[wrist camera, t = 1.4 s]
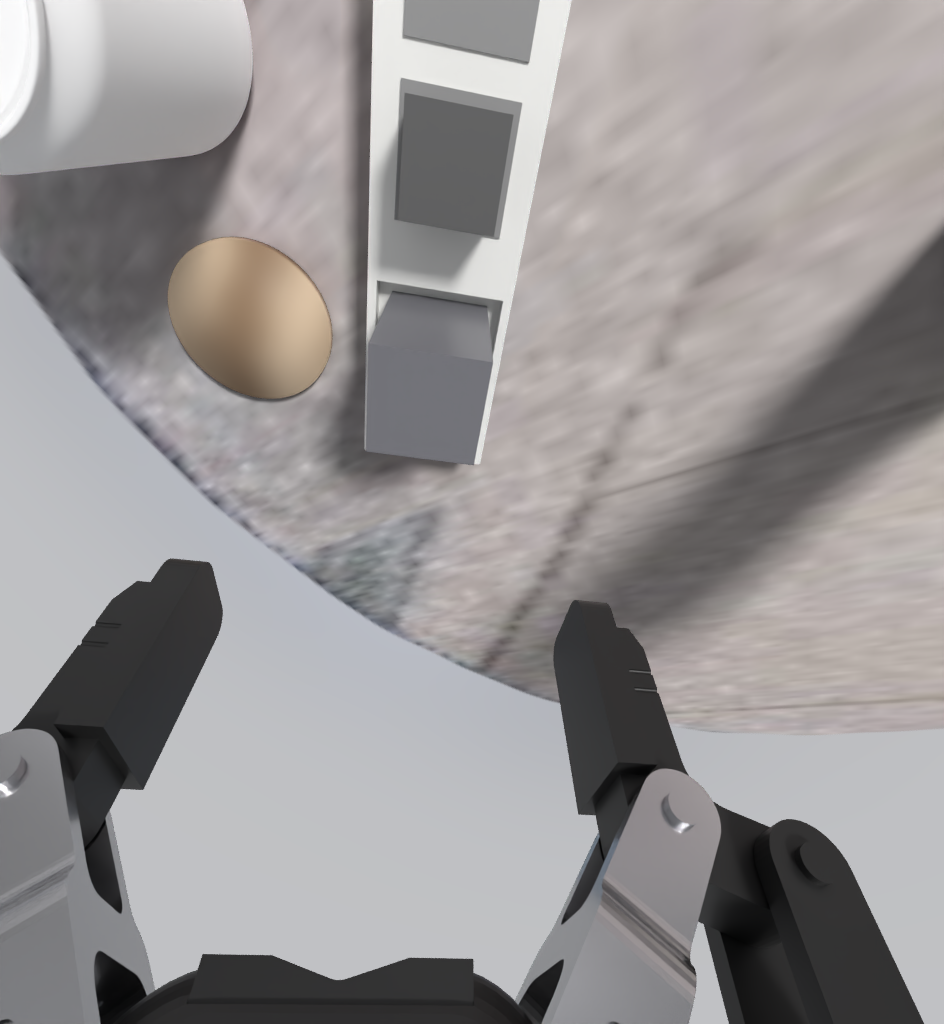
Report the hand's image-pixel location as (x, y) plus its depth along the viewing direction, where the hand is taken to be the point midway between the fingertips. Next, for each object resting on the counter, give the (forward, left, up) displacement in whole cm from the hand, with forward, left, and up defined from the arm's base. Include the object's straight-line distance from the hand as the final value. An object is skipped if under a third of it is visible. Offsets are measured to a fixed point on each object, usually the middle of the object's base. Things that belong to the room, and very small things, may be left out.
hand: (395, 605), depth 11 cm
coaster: (+9, +1, -19) cm, 21 cm away
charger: (0, 0, -17) cm, 17 cm away
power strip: (0, -7, -19) cm, 20 cm away
